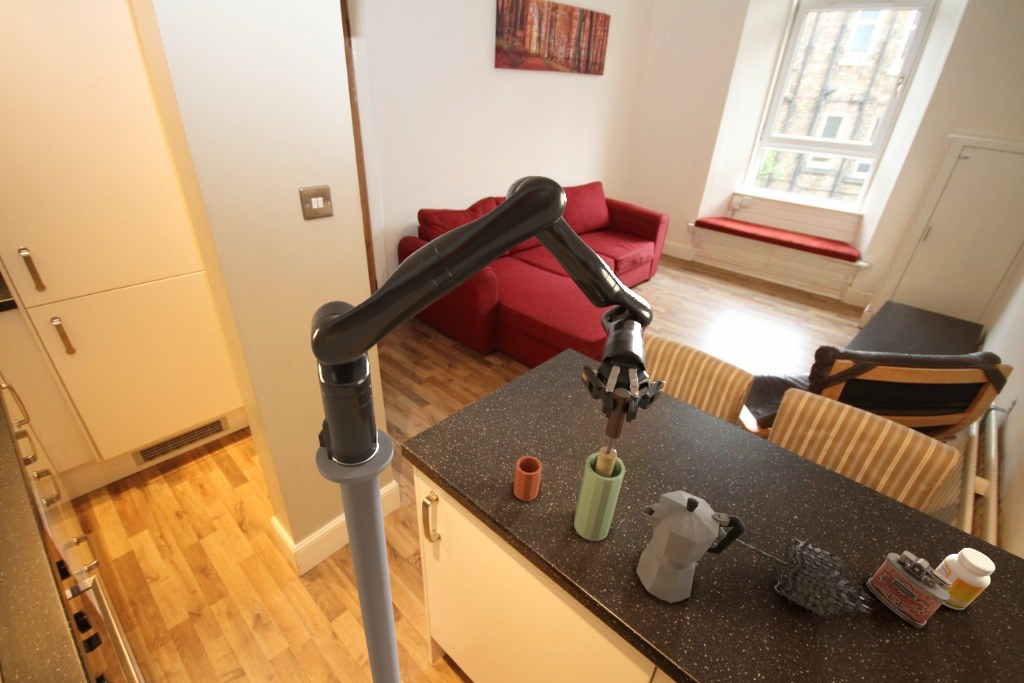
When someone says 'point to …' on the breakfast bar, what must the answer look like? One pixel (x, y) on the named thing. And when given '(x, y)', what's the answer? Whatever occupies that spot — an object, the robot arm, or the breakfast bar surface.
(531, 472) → the pot
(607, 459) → the bottle brush
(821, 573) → the massage brush
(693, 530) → the coffeepot
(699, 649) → the breakfast bar surface
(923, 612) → the lighter
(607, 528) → the vase
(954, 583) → the supplement bottle
